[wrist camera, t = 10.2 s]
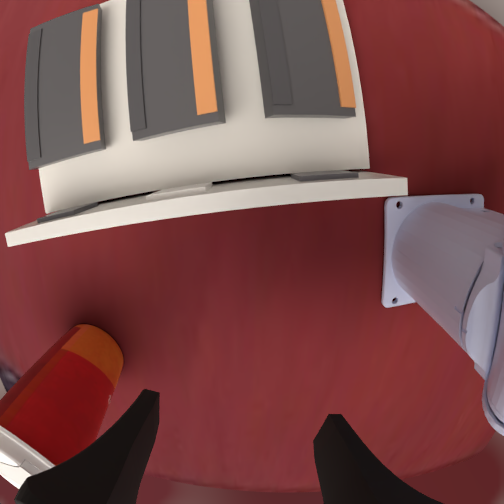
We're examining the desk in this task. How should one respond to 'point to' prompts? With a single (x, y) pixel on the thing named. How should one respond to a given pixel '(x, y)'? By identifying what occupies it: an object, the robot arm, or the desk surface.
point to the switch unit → (206, 148)
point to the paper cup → (58, 403)
